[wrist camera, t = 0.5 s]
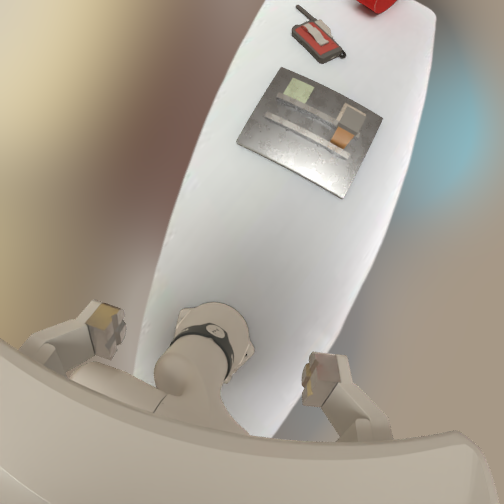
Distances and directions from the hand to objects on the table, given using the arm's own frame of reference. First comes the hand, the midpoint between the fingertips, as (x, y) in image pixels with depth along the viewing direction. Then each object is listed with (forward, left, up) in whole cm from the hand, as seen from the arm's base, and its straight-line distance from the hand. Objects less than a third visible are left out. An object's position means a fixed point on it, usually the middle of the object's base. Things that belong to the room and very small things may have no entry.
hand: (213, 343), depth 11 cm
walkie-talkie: (+48, +15, -47) cm, 69 cm away
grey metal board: (+24, +4, -46) cm, 53 cm away
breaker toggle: (+24, -2, -44) cm, 50 cm away
